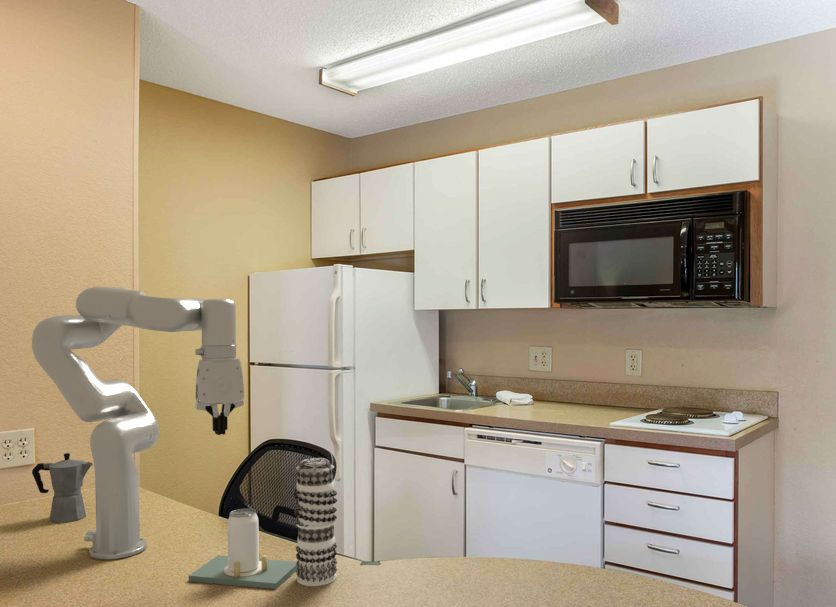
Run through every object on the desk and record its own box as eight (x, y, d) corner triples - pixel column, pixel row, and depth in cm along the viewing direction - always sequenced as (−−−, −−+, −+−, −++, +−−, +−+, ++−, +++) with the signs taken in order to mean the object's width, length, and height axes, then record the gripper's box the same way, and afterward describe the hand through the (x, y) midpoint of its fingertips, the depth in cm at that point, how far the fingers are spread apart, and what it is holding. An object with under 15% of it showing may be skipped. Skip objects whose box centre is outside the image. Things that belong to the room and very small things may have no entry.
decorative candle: (286, 583, 144) (284, 463, 144) (308, 567, 153) (306, 454, 153) (325, 589, 141) (323, 466, 141) (345, 572, 150) (343, 456, 150)
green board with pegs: (188, 581, 146) (188, 561, 146) (218, 560, 158) (218, 542, 158) (275, 589, 141) (275, 568, 141) (299, 567, 153) (299, 548, 153)
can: (251, 574, 146) (250, 517, 146) (222, 572, 147) (221, 516, 147) (264, 563, 152) (263, 508, 152) (236, 561, 153) (235, 507, 153)
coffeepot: (97, 511, 198) (96, 448, 198) (89, 521, 189) (88, 455, 189) (38, 515, 194) (37, 451, 194) (27, 526, 185) (26, 458, 185)
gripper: (189, 355, 150) (190, 440, 150) (256, 352, 158) (257, 432, 158) (181, 353, 157) (182, 434, 157) (246, 350, 165) (247, 428, 165)
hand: (220, 433), depth 158 cm, fingers closed
